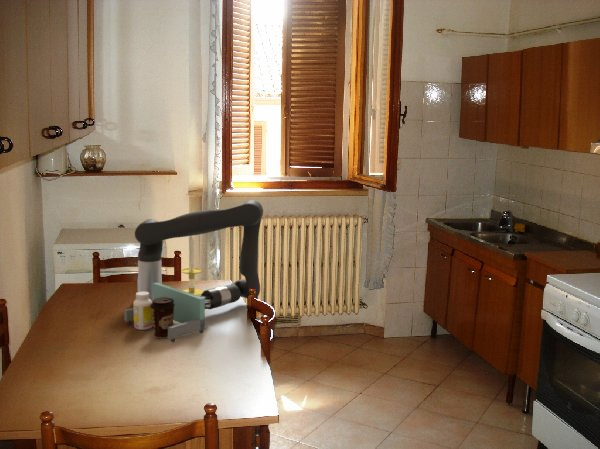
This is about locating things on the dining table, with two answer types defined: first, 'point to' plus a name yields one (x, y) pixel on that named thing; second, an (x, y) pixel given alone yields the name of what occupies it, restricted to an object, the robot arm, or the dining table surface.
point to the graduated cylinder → (192, 270)
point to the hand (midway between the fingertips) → (180, 307)
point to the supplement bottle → (142, 311)
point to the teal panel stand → (179, 311)
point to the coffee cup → (162, 316)
